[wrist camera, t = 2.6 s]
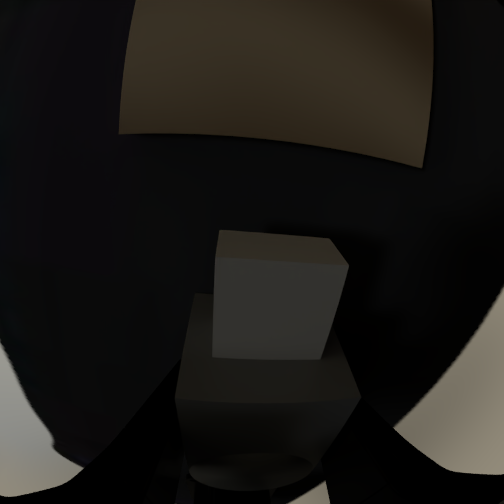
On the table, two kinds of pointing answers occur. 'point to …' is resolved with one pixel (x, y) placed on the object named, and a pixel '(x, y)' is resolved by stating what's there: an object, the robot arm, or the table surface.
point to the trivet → (284, 72)
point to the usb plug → (264, 363)
